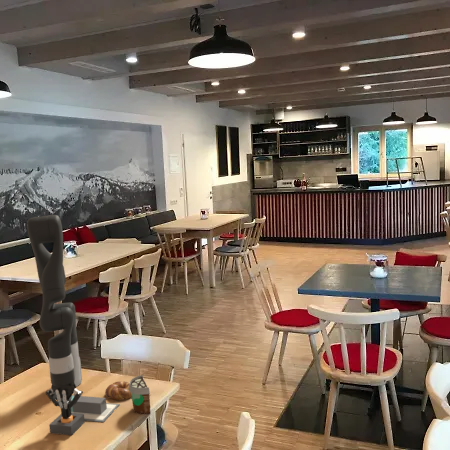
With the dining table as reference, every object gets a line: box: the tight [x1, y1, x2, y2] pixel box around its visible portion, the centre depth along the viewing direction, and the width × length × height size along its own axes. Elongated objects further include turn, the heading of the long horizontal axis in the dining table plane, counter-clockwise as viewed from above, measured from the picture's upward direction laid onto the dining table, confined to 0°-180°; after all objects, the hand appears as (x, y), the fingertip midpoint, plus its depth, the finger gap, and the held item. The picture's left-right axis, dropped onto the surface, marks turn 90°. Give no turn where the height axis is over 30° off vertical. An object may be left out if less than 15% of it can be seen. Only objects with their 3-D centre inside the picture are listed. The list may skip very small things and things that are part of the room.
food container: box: [128, 374, 151, 415], centre depth 171 cm, size 12×6×10 cm, turn 21°
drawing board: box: [71, 402, 120, 423], centre depth 172 cm, size 12×17×1 cm
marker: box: [71, 394, 107, 414], centre depth 172 cm, size 13×4×4 cm, turn 76°
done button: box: [61, 415, 73, 423], centre depth 162 cm, size 4×4×2 cm
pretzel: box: [105, 381, 132, 401], centre depth 184 cm, size 12×11×4 cm
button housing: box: [48, 413, 86, 436], centre depth 162 cm, size 8×8×3 cm
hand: (66, 417), depth 161 cm, fingers closed
